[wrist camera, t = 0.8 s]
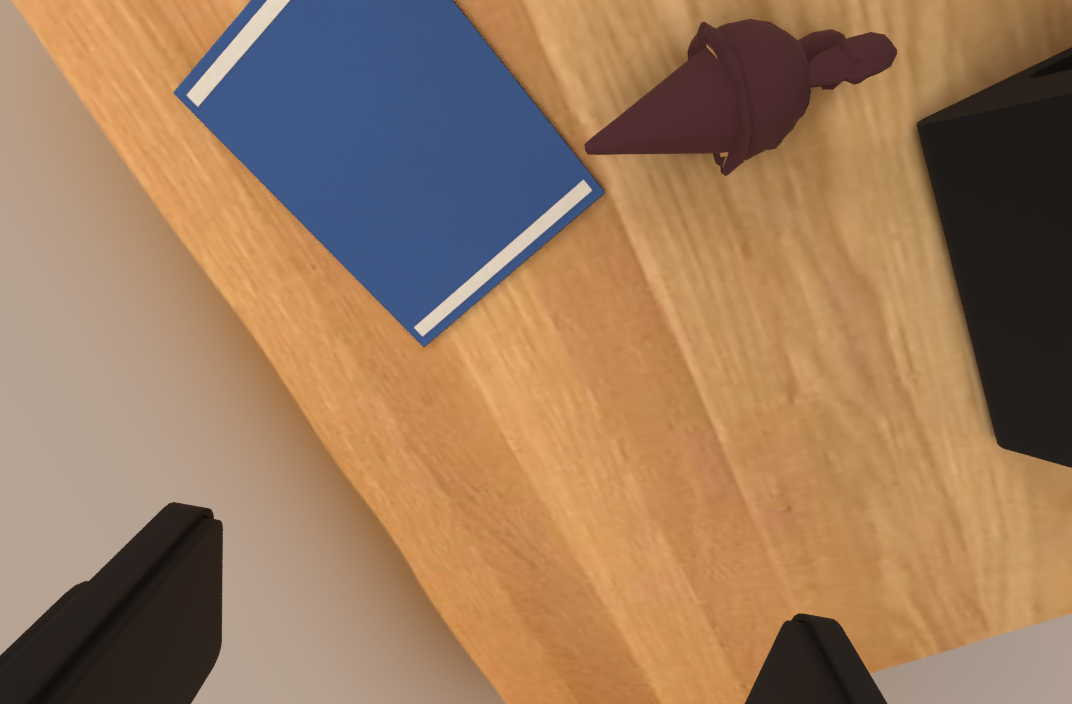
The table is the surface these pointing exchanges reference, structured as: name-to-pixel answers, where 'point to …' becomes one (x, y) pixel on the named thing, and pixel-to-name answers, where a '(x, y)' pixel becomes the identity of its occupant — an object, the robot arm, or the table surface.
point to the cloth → (392, 145)
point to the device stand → (1013, 246)
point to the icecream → (740, 91)
